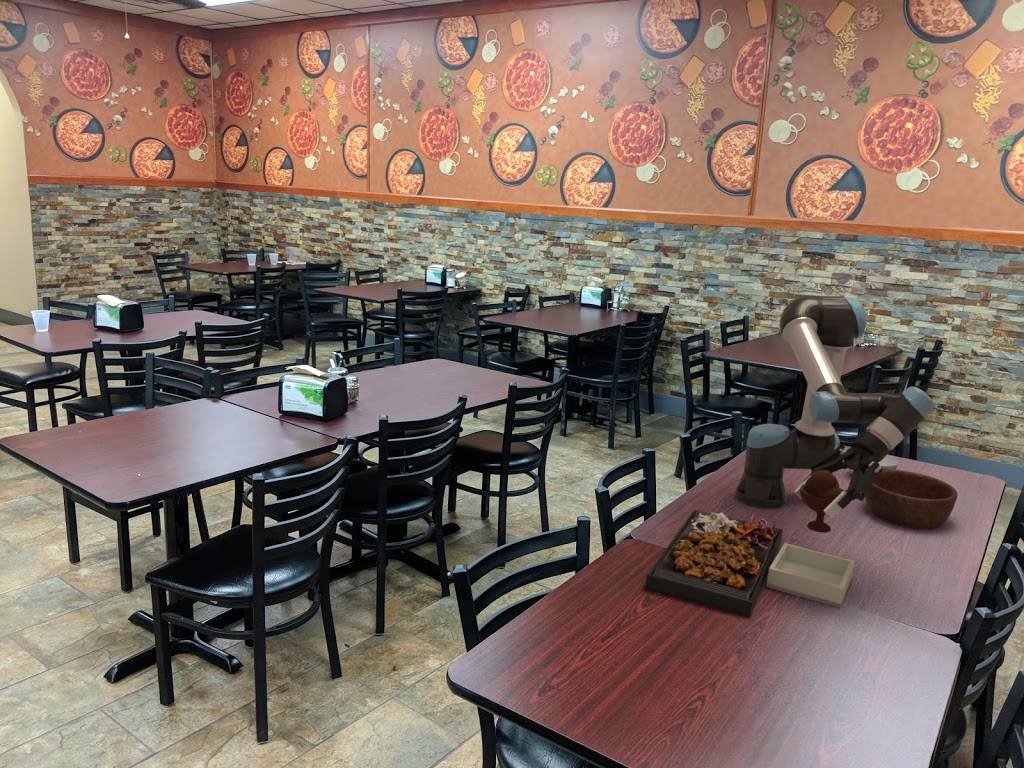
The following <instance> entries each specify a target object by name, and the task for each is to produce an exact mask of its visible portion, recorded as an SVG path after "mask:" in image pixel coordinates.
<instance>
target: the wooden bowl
mask: <svg viewBox="0 0 1024 768" xmlns="http://www.w3.org/2000/svg"><path fill="white" fill-rule="evenodd" d="M864 499H865V501H866V502H865V503H866V505H867V507H868V509H869V511H870V512H871V513H872V514H873V515H874V516H875V517H877V518H879V519H881V520H882V521H885V522H887V523H889V524H893V525H896V526H900V527H905V528H911V529H918V530H919V529H922V530H928V529H934V528H938V527H940V526H941V525H942V524H944V523H945V522H946V521H947V520H948V518H949V517H950V516H951V514H952V512H953V510H954V508H955V505H956V502H957V499H958V491H957V490H956V489H955V488H954V487H953V486H952V485H951V484H948V483H947V482H946V481H943V480H940V479H938V478H935V477H933V476H930V475H926V474H923V473H917V472H914V471H909V470H899V469H896V470H883V471H882V472H881V473H880V474H879V475H878V476H877V477H876V479H875V481H874V482H873V484H872V486H871V488H870V490H869V491H868V493H867V495H866V497H865V498H864Z"/></svg>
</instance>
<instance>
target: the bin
mask: <svg viewBox="0 0 1024 768" xmlns="http://www.w3.org/2000/svg"><path fill="white" fill-rule="evenodd" d="M854 567H855V560H853V559H850V558H849V559H848V558H845V557H841V556H837V555H834V554H830V553H826V552H822V551H818V550H813V549H810V548H806V547H802V546H798V545H794V544H791V543H787V542H784V543H783V545H782V547H781V548H780V550H779V552H777V554H776V556H775V558H774V561H773V563H772V564H771V566H770V568H769V572H768V575H767V579H766V580H767V581H766V588H768V589H771V590H775V591H778V592H779V591H780V592H783V593H787V594H789V595H793V596H796V597H800V598H804V599H807V600H811V601H814V602H817V603H821V604H825V605H829V606H833V607H834V608H835V607H836V608H840V609H841V608H842V606H843V605H842V604H843V603H844V600H845V597H846V594H847V592H848V589H849V587H850V584H851V581H852V579H853V572H854Z"/></svg>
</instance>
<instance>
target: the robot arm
mask: <svg viewBox="0 0 1024 768" xmlns="http://www.w3.org/2000/svg"><path fill="white" fill-rule="evenodd" d="M866 327H867V316H866V311H865V308H864V305H863V304H862V302H861V301H860V300H859V299H858V298H855V297H848V296H842V295H841V296H836V295H835V296H833V295H832V296H831V295H801V296H799V297H797V298H795V299H793V300H791V301H790V302H789V303H787V305H786V306H785V307H784V309H783V310H782V312H781V315H780V319H779V329H780V330H779V331H780V335H781V336H782V338H783V341H784V342H786V343H787V344H789V345H790V347H791V350H792V351H793V353H794V356H795V358H796V360H797V363H798V365H799V367H800V369H801V371H802V373H803V376H804V377H805V378H804V379H806V383H807V387H806V392H805V399H804V402H803V403H804V404H803V408H802V414H801V419H799V420H798V421H796V422H794V428H793V430H790V429H789V428H788V427H787V426H786V425H783V424H776V423H764V424H763V423H761V424H758V425H755V426H753V427H752V428H751V429H750V430H749V432H748V436H747V439H746V451H745V459H744V468H743V472H742V475H741V477H740V479H739V481H738V483H737V485H736V487H735V493H734V496H735V499H737V500H738V501H739V502H741V503H743V504H746V505H749V506H752V507H756V508H762V509H763V508H764V509H775V508H780V507H781V508H782V507H783V506H785V505H786V501H787V500H786V499H787V494H786V493H787V492H786V488H785V483H784V472H785V470H786V469H787V470H789V469H790V470H810V471H811V472H810V474H809V475H808V476H807V477H805V479H804V480H803V481H802V483H801V484H800V485H799V486H797V488H796V489H795V490H794V491H793V492H794V494H796V495H797V497H798V498H799V499H800V500H802V498H801V495H800V488H801V486H802V485H803V484H805V483H806V481H807V479H808V478H809V477H810V476H811V474H812V473H813V472H815V471H819V470H827V471H829V472H831V473H832V474H833V473H835V472H837V471H840V470H846V469H849V470H851V471H852V473H851V474H852V475H851V476H850V481H849V482H848V487H847V489H845V490H844V491H845V492H844V491H843V492H842V493H841V494H840V495H839V496H838V497H837V498H836V499H835V500H834V501H833V502H832V503H831V504H830V505H828V506H827V507H826V508H825V509H824V510H823V511H824V512H825V513H826V514H825V515H827V517H828V518H829V519H830V520H832V519H833V518H834V517H835V516H836V515H837V514H838V513H839V512H840V511H841V510H842V509H845V508H847V506H849V504H851V503H852V501H855V500H858V501H859V502H862V501H864V500H865V499H866V498H865V497H866V495H867V493H868V491H869V490H870V488H871V486H872V484H873V482H874V481H875V479H876V477H877V476H878V475H879V474H880V473H881V472H882V471H883V468H882V467H881V465H880V464H879V463H878V462H880V461H881V460H882V459H883V458H884V457H885V456H886V455H889V454H890V451H892V450H893V449H894V448H895V447H896V446H898V445H899V444H900V443H901V442H902V441H903V439H905V438H906V437H907V436H908V435H909V434H910V433H911V432H912V431H913V430H914V429H915V428H916V427H917V426H918V425H920V424H921V423H922V421H923V420H925V419H926V418H927V416H928V415H930V413H931V412H932V411H933V410H934V408H935V402H934V401H933V399H932V397H930V396H929V395H928V393H927V392H925V391H923V390H922V389H921V388H918V387H916V386H909V387H907V388H906V389H904V391H902V392H901V394H900V395H897V394H896V395H895V394H887V393H886V392H885V393H884V392H881V393H880V392H875V393H869V392H868V393H867V392H866V393H865V392H863V393H862V392H860V393H859V392H847V390H846V389H845V388H844V386H843V385H844V384H842V381H841V378H842V373H843V367H844V363H845V359H846V353H847V350H849V349H851V348H852V347H853V345H854V343H855V339H859V338H862V336H863V335H864V334H865V330H866ZM832 423H842V424H843V423H845V424H847V423H850V424H852V423H854V424H855V423H856V424H868V425H867V427H866V430H863V431H862V432H861V433H860V434H859V435H858V436H857V437H856V438H855V439H854V442H853V443H854V444H853V445H852V446H851V447H849V448H848V447H846V446H845V445H844V444H843V443H841V442H840V438H839V436H838V435H837V433H836V430H835V428H834V427H833V426H832ZM866 470H867V471H866ZM846 493H847V494H846Z"/></svg>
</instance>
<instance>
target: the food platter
mask: <svg viewBox="0 0 1024 768" xmlns="http://www.w3.org/2000/svg"><path fill="white" fill-rule="evenodd" d="M754 517H755V513H754V512H752V516H751V517H750V521H746V520H741V519H737V518H733V517H728V516H727V515H726V514H724V513H723V512H720V513H716V512H713V511H711V512H706V511H701V510H697V509H694V510H693V511H692V513H690V515H689V517H688V518H687V519H686V521H685V522H684V523H683V525H682V526H681V527H680V529H679V530H678V531H677V532H676V534H675V535H674V537H673V539H672V540H671V541H670V543H669V544H668V545H667V546H666V548H665V549H664V551H663V552H662V553H661V555H660V556H659V558H658V559H657V560H656V561H655V563H654V565H653V566H652V567H651V569H649V572H648V573H647V575H646V577H645V590H648V591H651V592H655V593H658V594H662V595H666V596H668V597H674V598H676V599H681V600H684V601H687V602H692V603H695V604H699V605H703V606H706V607H710V608H713V609H718V610H721V611H726V612H729V613H733V614H736V615H739V616H740V615H741V616H744V617H747V618H751V617H752V614H753V611H754V609H755V607H756V605H757V602H758V599H759V598H760V595H761V592H762V590H763V587H764V586H765V582H766V580H767V579H768V572H769V568H770V566H771V564H772V563H773V561H774V560H775V558H776V556H777V554H778V550H779V549H780V545H781V543H782V541H783V540H782V539H783V532H784V530H783V528H778V527H775V526H776V523H777V520H778V517H775V520H774V523H773V525H770V524H769V522H768V521H767V520H766V519H765V518H763V517H761V518H760V519H758V520H757V521H754Z"/></svg>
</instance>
